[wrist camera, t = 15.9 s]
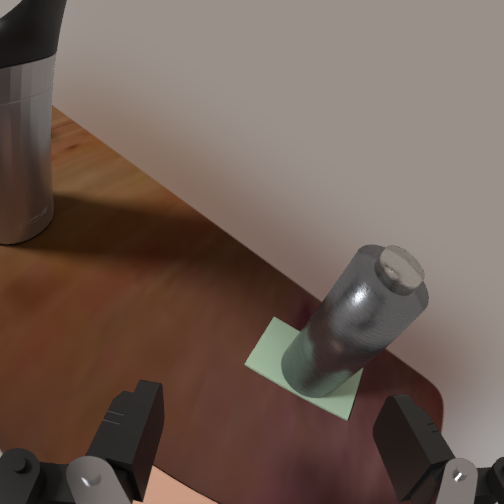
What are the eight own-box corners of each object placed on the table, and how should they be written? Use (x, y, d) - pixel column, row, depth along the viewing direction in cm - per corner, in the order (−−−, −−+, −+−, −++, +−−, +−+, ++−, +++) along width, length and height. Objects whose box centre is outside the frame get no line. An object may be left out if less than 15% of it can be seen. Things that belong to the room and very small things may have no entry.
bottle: (271, 379, 23) (360, 267, 15) (293, 331, 28) (369, 218, 19) (330, 408, 23) (442, 316, 14) (345, 358, 27) (436, 259, 18)
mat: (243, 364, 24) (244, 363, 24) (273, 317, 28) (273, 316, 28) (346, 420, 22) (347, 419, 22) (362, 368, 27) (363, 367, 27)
